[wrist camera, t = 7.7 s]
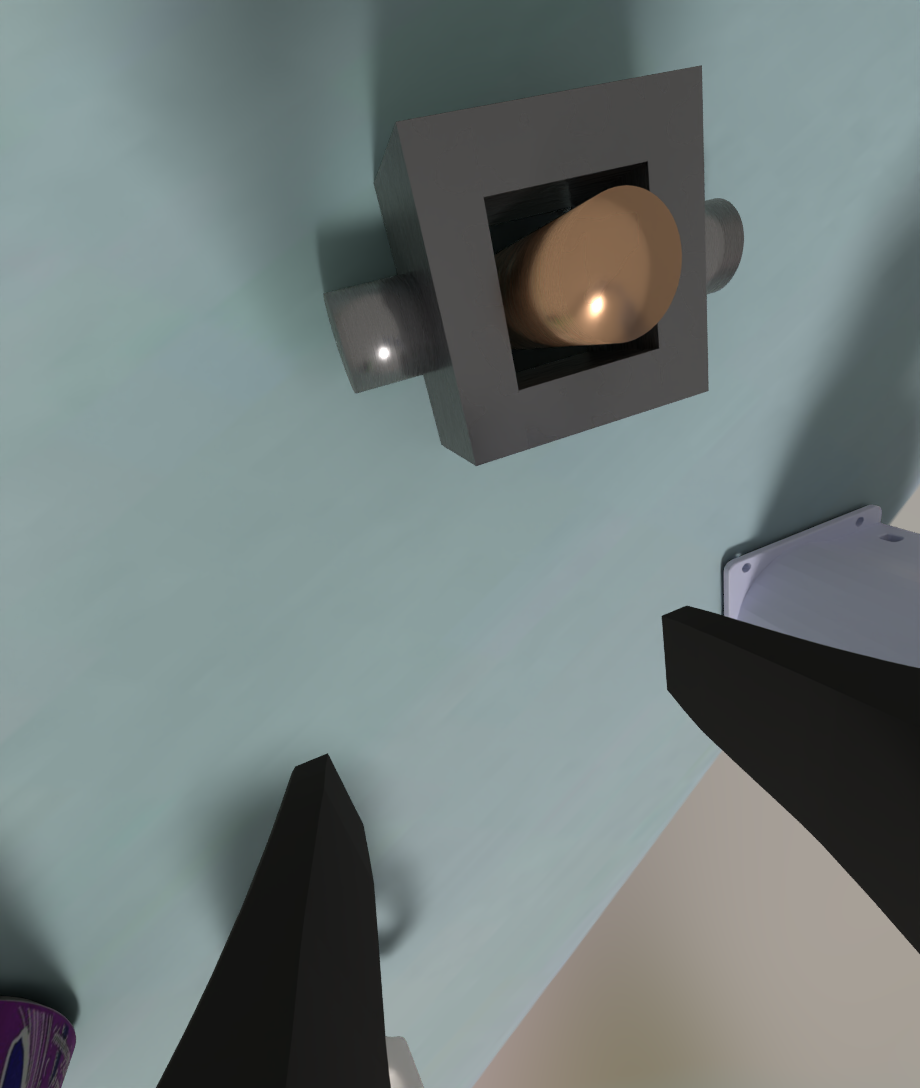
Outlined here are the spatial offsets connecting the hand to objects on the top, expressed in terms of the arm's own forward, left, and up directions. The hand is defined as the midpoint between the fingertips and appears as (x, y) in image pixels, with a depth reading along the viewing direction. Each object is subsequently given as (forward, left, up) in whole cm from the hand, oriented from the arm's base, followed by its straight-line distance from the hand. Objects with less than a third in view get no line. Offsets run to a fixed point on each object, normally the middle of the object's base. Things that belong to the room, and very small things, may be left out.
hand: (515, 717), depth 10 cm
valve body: (-6, -8, -10) cm, 14 cm away
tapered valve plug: (-6, -8, -10) cm, 14 cm away
